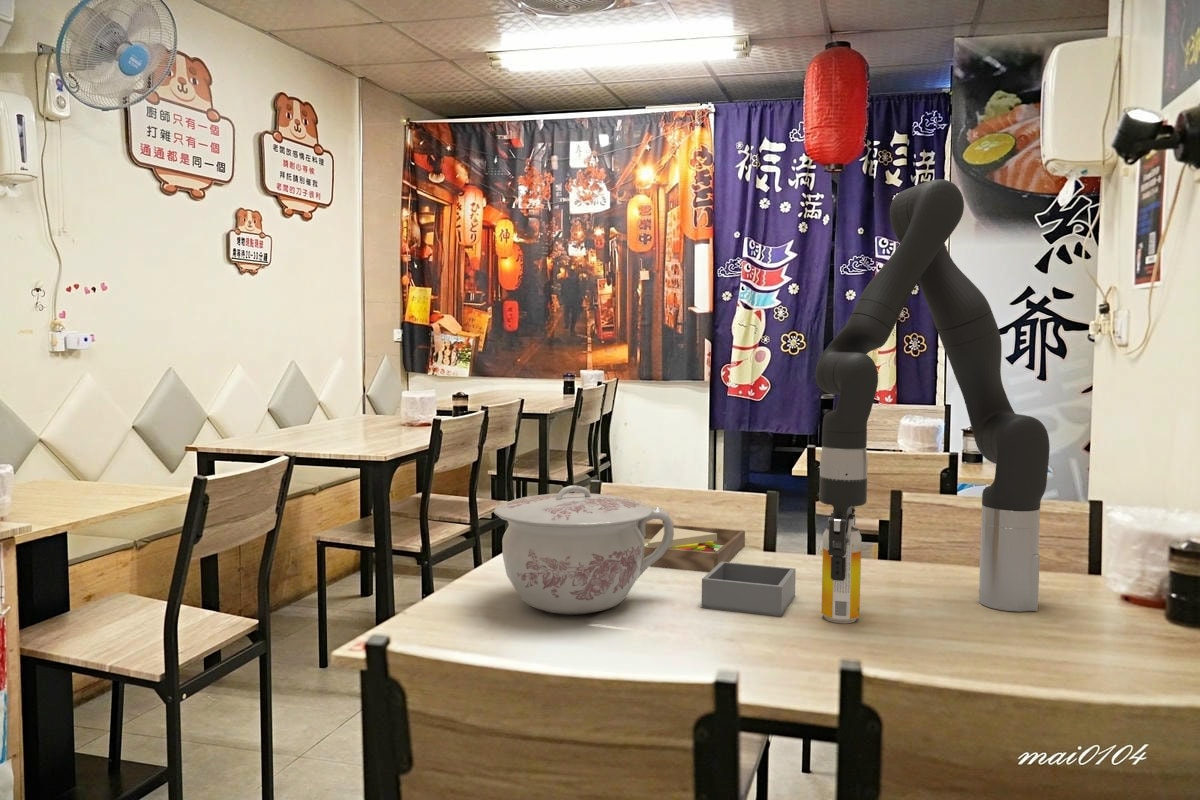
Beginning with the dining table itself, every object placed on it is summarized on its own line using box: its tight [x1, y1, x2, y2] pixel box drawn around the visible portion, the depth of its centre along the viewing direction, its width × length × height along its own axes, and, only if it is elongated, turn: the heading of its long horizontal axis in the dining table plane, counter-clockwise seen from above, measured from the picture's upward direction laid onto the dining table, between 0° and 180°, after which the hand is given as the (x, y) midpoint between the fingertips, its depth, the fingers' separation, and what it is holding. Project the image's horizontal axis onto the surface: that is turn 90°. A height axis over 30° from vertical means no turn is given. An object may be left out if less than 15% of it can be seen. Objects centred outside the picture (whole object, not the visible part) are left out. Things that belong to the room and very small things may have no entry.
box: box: [701, 561, 797, 618], centre depth 162 cm, size 14×14×5 cm
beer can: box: [821, 525, 862, 624], centre depth 152 cm, size 6×6×15 cm
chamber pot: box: [493, 484, 674, 616], centre depth 159 cm, size 28×28×21 cm
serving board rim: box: [643, 522, 746, 573], centre depth 197 cm, size 24×24×4 cm
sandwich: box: [645, 527, 722, 552], centre depth 196 cm, size 15×20×5 cm
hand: (840, 574), depth 152 cm, fingers open, 7 cm apart
